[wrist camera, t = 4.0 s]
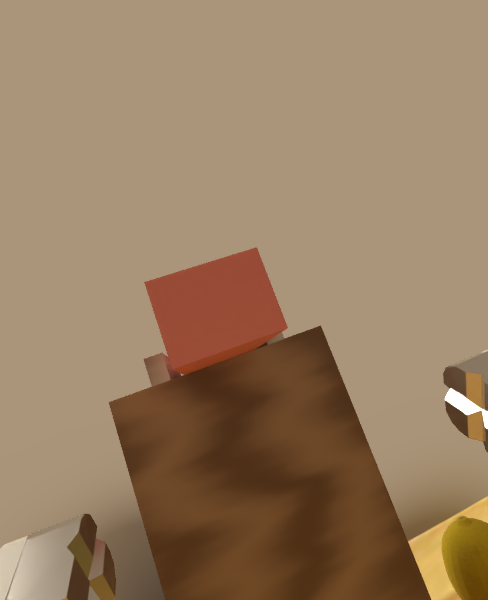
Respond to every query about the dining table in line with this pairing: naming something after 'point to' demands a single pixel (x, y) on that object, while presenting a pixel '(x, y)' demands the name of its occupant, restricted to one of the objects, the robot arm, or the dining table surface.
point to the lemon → (467, 557)
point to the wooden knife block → (262, 481)
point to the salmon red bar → (215, 311)
